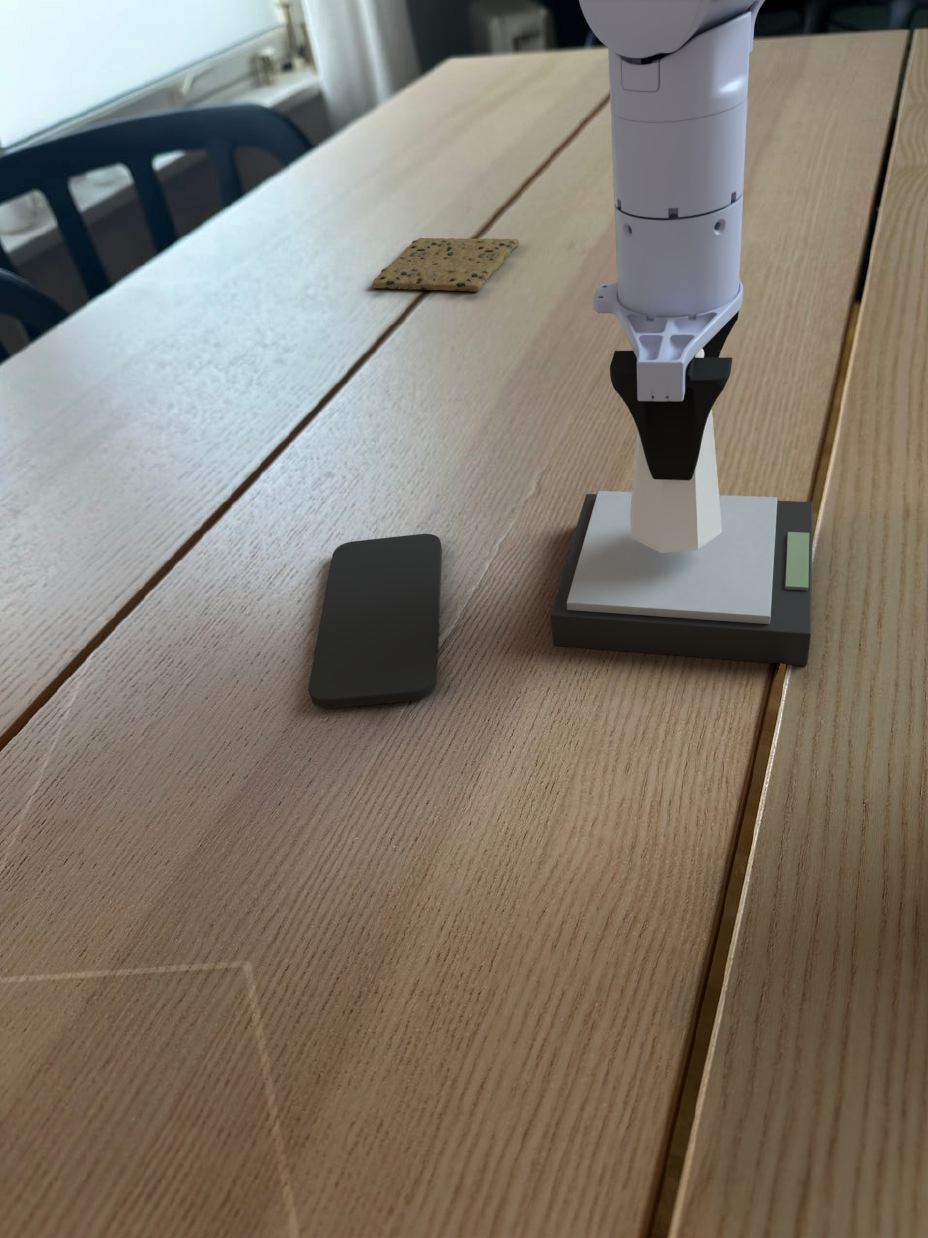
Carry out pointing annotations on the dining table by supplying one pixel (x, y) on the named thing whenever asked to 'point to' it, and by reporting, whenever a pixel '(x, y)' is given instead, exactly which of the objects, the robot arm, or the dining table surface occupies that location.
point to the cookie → (446, 264)
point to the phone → (379, 623)
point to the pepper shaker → (677, 501)
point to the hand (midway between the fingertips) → (676, 453)
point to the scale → (691, 585)
